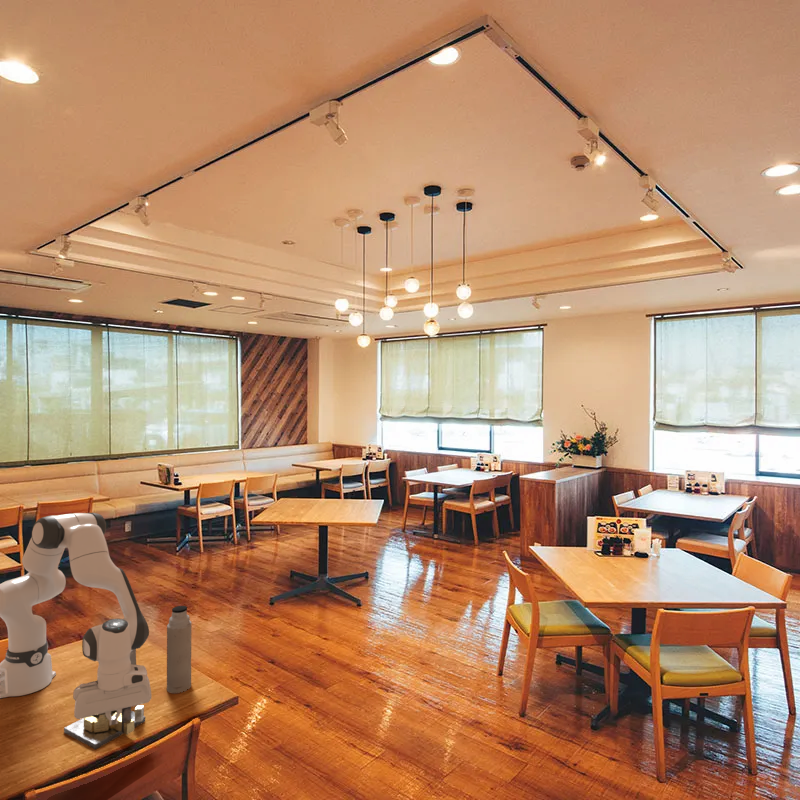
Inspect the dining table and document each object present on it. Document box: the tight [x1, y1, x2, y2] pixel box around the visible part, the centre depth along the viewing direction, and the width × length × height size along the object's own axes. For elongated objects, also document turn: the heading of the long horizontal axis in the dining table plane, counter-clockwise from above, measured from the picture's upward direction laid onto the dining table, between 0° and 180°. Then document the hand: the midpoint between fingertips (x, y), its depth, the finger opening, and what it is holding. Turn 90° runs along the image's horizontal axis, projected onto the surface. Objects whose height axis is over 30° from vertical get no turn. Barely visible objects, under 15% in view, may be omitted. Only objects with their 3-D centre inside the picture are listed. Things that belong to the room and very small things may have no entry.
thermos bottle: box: [166, 605, 192, 694], centre depth 193 cm, size 8×8×28 cm
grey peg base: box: [63, 704, 146, 750], centre depth 169 cm, size 18×16×10 cm
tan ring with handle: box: [84, 706, 135, 735], centre depth 168 cm, size 18×11×8 cm, turn 62°
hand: (113, 723), depth 163 cm, fingers closed
